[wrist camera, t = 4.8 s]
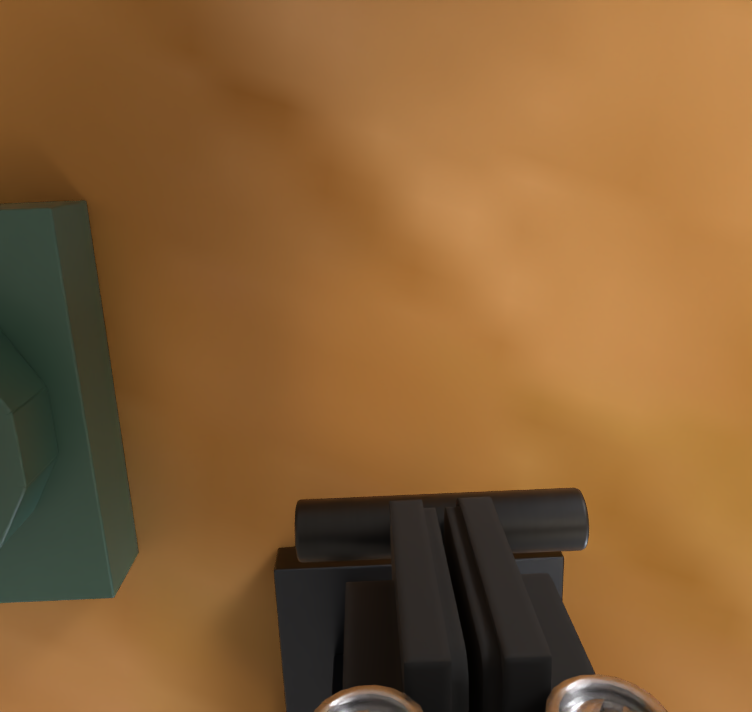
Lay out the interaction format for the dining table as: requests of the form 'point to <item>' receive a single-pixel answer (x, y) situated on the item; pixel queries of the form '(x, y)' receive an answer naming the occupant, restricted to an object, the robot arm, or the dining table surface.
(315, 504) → the lever
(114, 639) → the dining table surface
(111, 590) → the button box
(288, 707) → the bracket
